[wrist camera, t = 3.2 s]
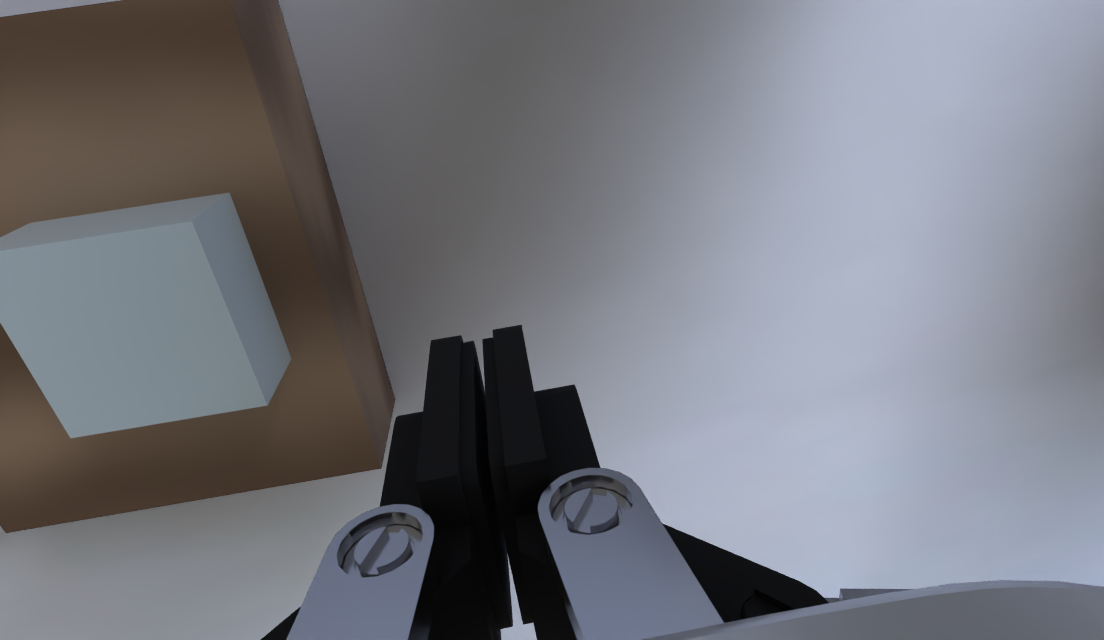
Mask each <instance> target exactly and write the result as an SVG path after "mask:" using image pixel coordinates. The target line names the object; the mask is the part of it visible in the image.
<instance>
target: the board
mask: <svg viewBox="0 0 1104 640" xmlns="http://www.w3.org/2000/svg"><path fill="white" fill-rule="evenodd" d="M223 193H230V195H231V198H232V200H233V203H234V206H235V208H236V211H237V214H238V217H239V219H240V222H241V225H242V227H243V230H244V233H245V235H246V238H247V241H248V243H249V246H250V249H251V251H252V254H253V257H254V259H255V262H256V265H257V267H258V270H259V273H260V275H261V278H262V281H263V284H264V286H265V289H266V292H267V294H268V297H269V300H270V302H271V305H272V308H273V310H274V313H275V316H276V318H277V321H278V324H279V326H280V329H281V332H282V334H283V337H284V340H285V343H286V345H287V348H288V351H289V353H290V356H291V361H290V363H289V365H288V367H287V369H286V371H285V373H284V374H283V376H282V378H281V380H280V382H279V384H278V386H277V388H276V390H275V392H274V394H273V396H272V398H271V400H270V402H269V404H268V405H267V406H262V407H256V408H250V409H244V410H238V411H232V412H226V413H220V414H214V415H208V416H202V417H196V418H190V419H184V420H178V421H172V422H166V423H160V424H154V425H148V426H142V427H136V428H130V429H124V430H118V431H112V432H106V433H100V434H94V435H88V436H82V437H76V438H70V437H69V435H68V433H67V432H66V430H65V429H64V427H63V425H62V424H61V422H60V420H59V419H58V417H57V415H56V414H55V412H54V410H53V409H52V407H51V405H50V404H49V402H48V401H47V399H46V397H45V396H44V394H43V392H42V391H41V389H40V387H39V386H38V384H37V382H36V381H35V379H34V377H33V376H32V374H31V372H30V371H29V369H28V368H27V366H26V364H25V363H24V361H23V359H22V358H21V356H20V354H19V353H18V351H17V349H16V348H15V346H14V344H13V343H12V341H11V340H10V338H9V336H8V335H7V333H6V331H5V330H4V328H3V326H2V325H1V323H0V526H1V527H2V528H3V530H4V531H5V532H6V533H9V532H15V531H21V530H26V529H32V528H38V527H44V526H50V525H55V524H61V523H67V522H73V521H79V520H84V519H90V518H96V517H102V516H108V515H113V514H119V513H125V512H131V511H137V510H143V509H148V508H154V507H160V506H166V505H172V504H177V503H183V502H189V501H195V500H201V499H206V498H212V497H218V496H224V495H230V494H235V493H241V492H247V491H253V490H259V489H264V488H270V487H276V486H282V485H288V484H294V483H299V482H305V481H311V480H317V479H323V478H328V477H334V476H340V475H346V474H352V473H357V472H363V471H369V470H375V469H381V467H382V462H383V457H384V452H385V447H386V442H387V437H388V433H389V428H390V423H391V418H392V413H393V408H394V403H395V398H394V394H393V391H392V387H391V384H390V381H389V377H388V374H387V370H386V367H385V364H384V360H383V357H382V353H381V350H380V347H379V343H378V340H377V336H376V333H375V330H374V326H373V323H372V319H371V316H370V312H369V309H368V306H367V302H366V299H365V295H364V292H363V289H362V285H361V282H360V278H359V275H358V272H357V268H356V265H355V261H354V258H353V255H352V251H351V248H350V244H349V241H348V238H347V234H346V231H345V227H344V224H343V221H342V217H341V214H340V210H339V207H338V203H337V200H336V197H335V193H334V190H333V186H332V183H331V180H330V176H329V173H328V169H327V166H326V163H325V159H324V156H323V152H322V149H321V146H320V142H319V139H318V135H317V132H316V129H315V125H314V122H313V118H312V115H311V112H310V108H309V105H308V101H307V98H306V95H305V91H304V88H303V84H302V81H301V77H300V74H299V71H298V67H297V64H296V60H295V57H294V54H293V50H292V47H291V43H290V40H289V37H288V33H287V30H286V26H285V23H284V20H283V16H282V13H281V9H280V6H279V3H278V0H121V1H114V2H107V3H99V4H92V5H85V6H78V7H71V8H63V9H56V10H49V11H42V12H35V13H27V14H20V15H13V16H6V17H0V237H2V236H4V235H6V234H8V233H10V232H12V231H14V230H16V229H19V228H21V227H23V226H25V225H27V224H29V223H33V222H39V221H46V220H52V219H59V218H65V217H72V216H79V215H85V214H92V213H98V212H105V211H111V210H118V209H124V208H131V207H138V206H144V205H151V204H157V203H164V202H170V201H177V200H184V199H190V198H197V197H203V196H210V195H216V194H223Z"/></svg>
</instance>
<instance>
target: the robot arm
mask: <svg viewBox="0 0 1104 640" xmlns="http://www.w3.org/2000/svg"><path fill="white" fill-rule="evenodd" d="M483 358H484V377H485V391H484V386H483V381H482V376H481V371H480V367H479V362H478V357H477V352H476V348H475V344H474V341H470V342H465V343H463V339H462V337H461V335H460V336H454V337H448V338H442V339H437V340H431V345H430V354H429V363H428V372H427V381H426V390H425V399H424V408H423V412H418V413H412V414H407V415H401V416H398V417H396V420H395V424H394V429H393V435H392V440H391V446H390V452H389V457H388V463H387V468H386V474H385V480H384V485H383V491H382V496H381V502H380V507H377V508H375V509H372V510H370V511H367V512H365V513H362V514H361V515H359V516H358V517H356V518H355V519H353V520H351V521H350V522H348V523H347V524H346V525H345V526H344V527H343V528H342V529H341V530H340V531H339V532H338V533H337V534H336V535H335V537H334V538H333V540H332V541H331V543H330V544H329V546H328V548H327V550H326V552H325V555H324V557H323V559H322V561H321V563H320V566H319V568H318V570H317V572H316V575H315V577H314V579H313V581H312V584H311V586H310V588H309V590H308V592H307V595H306V597H305V599H304V601H303V604H302V606H301V607H299V608H298V609H297V610H296V611H295V612H293V613H292V614H291V615H290V616H289V617H287V618H286V619H285V620H284V621H283V622H281V623H280V624H279V625H278V626H277V627H275V628H274V629H273V630H272V631H271V632H269V633H268V634H267V635H266V636H264V637H263V638H262V639H261V640H501V630H500V629H503V628H508V627H512V626H513V619H512V606H511V594H510V581H509V568H508V557H509V562H510V566H511V571H512V575H513V580H514V585H515V589H516V594H517V598H518V603H519V607H520V612H521V616H522V621H523V624H528V623H533V622H534V627H535V632H536V637H537V640H1104V587H1102V586H1093V585H1085V584H1077V583H1069V582H1060V581H1011V580H998V581H983V582H968V583H954V584H946V585H939V586H933V587H926V588H920V589H840V595H839V598H824V597H822V596H821V595H820V594H819V593H818V592H817V591H816V590H814V589H812V588H810V587H808V586H807V585H805V584H803V583H801V582H800V581H797V580H795V579H793V578H790V577H788V576H786V575H783V574H781V573H778V572H776V571H774V570H771V569H769V568H767V567H764V566H762V565H760V564H757V563H755V562H752V561H750V560H748V559H745V558H743V557H741V556H738V555H736V554H733V553H731V552H729V551H726V550H724V549H722V548H719V547H717V546H714V545H712V544H710V543H707V542H705V541H703V540H700V539H698V538H695V537H693V536H691V535H688V534H686V533H684V532H681V531H679V530H676V529H674V528H672V527H669V526H667V525H665V524H662V522H661V521H660V519H659V518H658V516H657V514H656V513H655V511H654V510H653V508H652V506H651V505H650V503H649V502H648V500H647V498H646V497H645V495H644V494H643V492H642V490H641V489H640V487H639V486H638V485H637V484H636V483H635V482H634V481H633V480H632V479H631V478H629V477H628V476H626V475H624V474H622V473H620V472H618V471H614V470H610V469H606V468H600V465H599V462H598V459H597V455H596V452H595V449H594V446H593V442H592V439H591V436H590V432H589V429H588V426H587V423H586V419H585V416H584V413H583V409H582V406H581V403H580V399H579V396H578V393H577V390H576V387H575V385H569V386H564V387H558V388H552V389H547V390H541V391H536V392H534V390H533V384H532V379H531V374H530V368H529V363H528V358H527V352H526V347H525V341H524V336H523V331H522V325H518V326H512V327H506V328H501V329H495V330H493V338H488V339H483ZM507 553H508V556H507Z"/></svg>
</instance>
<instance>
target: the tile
mask: <svg viewBox="0 0 1104 640" xmlns="http://www.w3.org/2000/svg"><path fill="white" fill-rule="evenodd" d="M0 323H1V325H2V326H3V328H4V330H5V331H6V333H7V335H8V336H9V338H10V340H11V341H12V343H13V344H14V346H15V348H16V349H17V351H18V353H19V354H20V356H21V358H22V359H23V361H24V363H25V364H26V366H27V368H28V369H29V371H30V372H31V374H32V376H33V377H34V379H35V381H36V382H37V384H38V386H39V387H40V389H41V391H42V392H43V394H44V396H45V397H46V399H47V401H48V402H49V404H50V405H51V407H52V409H53V410H54V412H55V414H56V415H57V417H58V419H59V420H60V422H61V424H62V425H63V427H64V429H65V430H66V432H67V433H68V435H69V437H70V438H76V437H82V436H88V435H94V434H100V433H106V432H112V431H118V430H124V429H130V428H136V427H142V426H148V425H154V424H160V423H166V422H172V421H178V420H184V419H190V418H196V417H202V416H208V415H214V414H220V413H226V412H232V411H238V410H244V409H250V408H256V407H262V406H267V405H268V404H269V402H270V400H271V398H272V396H273V394H274V392H275V390H276V388H277V386H278V384H279V382H280V380H281V378H282V376H283V374H284V373H285V371H286V369H287V367H288V365H289V363H290V361H291V356H290V353H289V351H288V348H287V345H286V343H285V340H284V337H283V334H282V332H281V329H280V326H279V324H278V321H277V318H276V316H275V313H274V310H273V308H272V305H271V302H270V300H269V297H268V294H267V292H266V289H265V286H264V284H263V281H262V278H261V275H260V273H259V270H258V267H257V265H256V262H255V259H254V257H253V254H252V251H251V249H250V246H249V243H248V241H247V238H246V235H245V233H244V230H243V227H242V225H241V222H240V219H239V217H238V214H237V211H236V208H235V206H234V203H233V200H232V198H231V195H230V193H223V194H216V195H210V196H203V197H197V198H190V199H184V200H177V201H170V202H164V203H157V204H151V205H144V206H138V207H131V208H124V209H118V210H111V211H105V212H98V213H92V214H85V215H79V216H72V217H65V218H59V219H52V220H46V221H39V222H33V223H29V224H27V225H25V226H23V227H21V228H19V229H16V230H14V231H12V232H10V233H8V234H6V235H4V236H2V237H0Z"/></svg>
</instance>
